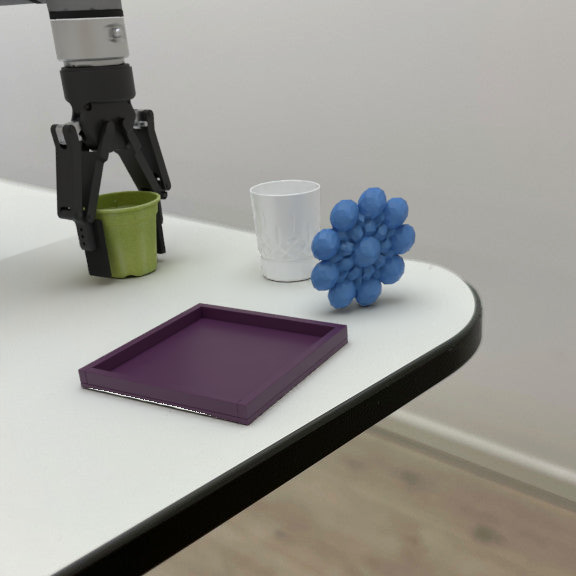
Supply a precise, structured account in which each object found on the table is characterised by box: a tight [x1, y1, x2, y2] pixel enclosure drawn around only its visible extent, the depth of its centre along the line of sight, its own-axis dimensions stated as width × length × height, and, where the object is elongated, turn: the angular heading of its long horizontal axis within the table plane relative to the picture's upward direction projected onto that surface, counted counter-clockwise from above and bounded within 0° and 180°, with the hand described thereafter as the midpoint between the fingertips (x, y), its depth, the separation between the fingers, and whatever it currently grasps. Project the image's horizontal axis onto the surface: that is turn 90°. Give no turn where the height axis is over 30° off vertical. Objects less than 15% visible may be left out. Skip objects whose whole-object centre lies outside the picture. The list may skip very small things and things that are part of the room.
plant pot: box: [83, 190, 162, 279], centre depth 91 cm, size 9×9×9 cm
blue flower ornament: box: [309, 186, 416, 309], centre depth 77 cm, size 12×7×12 cm, turn 116°
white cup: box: [249, 179, 322, 283], centre depth 87 cm, size 8×8×10 cm
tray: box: [77, 302, 349, 426], centre depth 67 cm, size 17×17×2 cm
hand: (129, 263), depth 92 cm, fingers closed on plant pot, 9 cm apart
